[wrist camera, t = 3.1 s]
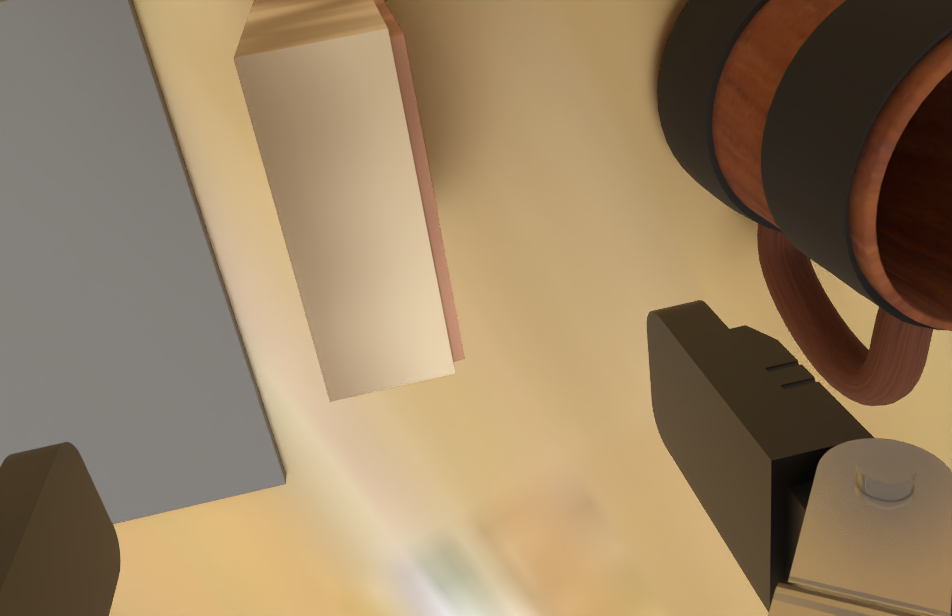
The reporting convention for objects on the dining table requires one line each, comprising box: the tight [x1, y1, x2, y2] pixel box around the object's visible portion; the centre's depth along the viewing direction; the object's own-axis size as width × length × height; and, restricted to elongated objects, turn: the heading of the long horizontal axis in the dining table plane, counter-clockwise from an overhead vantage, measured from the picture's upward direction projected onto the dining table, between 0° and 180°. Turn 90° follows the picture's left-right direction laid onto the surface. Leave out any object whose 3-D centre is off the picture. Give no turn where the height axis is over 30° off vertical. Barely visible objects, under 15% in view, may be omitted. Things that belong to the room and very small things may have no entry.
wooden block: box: [234, 0, 465, 402], centre depth 23 cm, size 3×8×10 cm, turn 9°
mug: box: [658, 0, 952, 406], centre depth 25 cm, size 9×12×12 cm
